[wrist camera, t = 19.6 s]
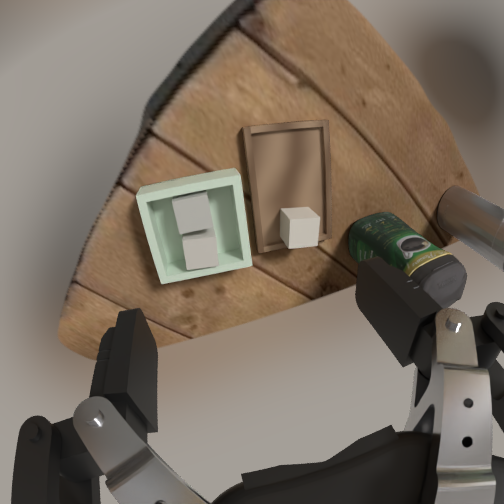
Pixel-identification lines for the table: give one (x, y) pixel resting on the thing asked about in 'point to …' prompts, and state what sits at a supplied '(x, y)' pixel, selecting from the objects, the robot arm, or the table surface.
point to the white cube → (299, 227)
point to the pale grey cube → (200, 249)
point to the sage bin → (223, 217)
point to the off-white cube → (192, 211)
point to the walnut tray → (288, 176)
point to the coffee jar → (408, 255)
